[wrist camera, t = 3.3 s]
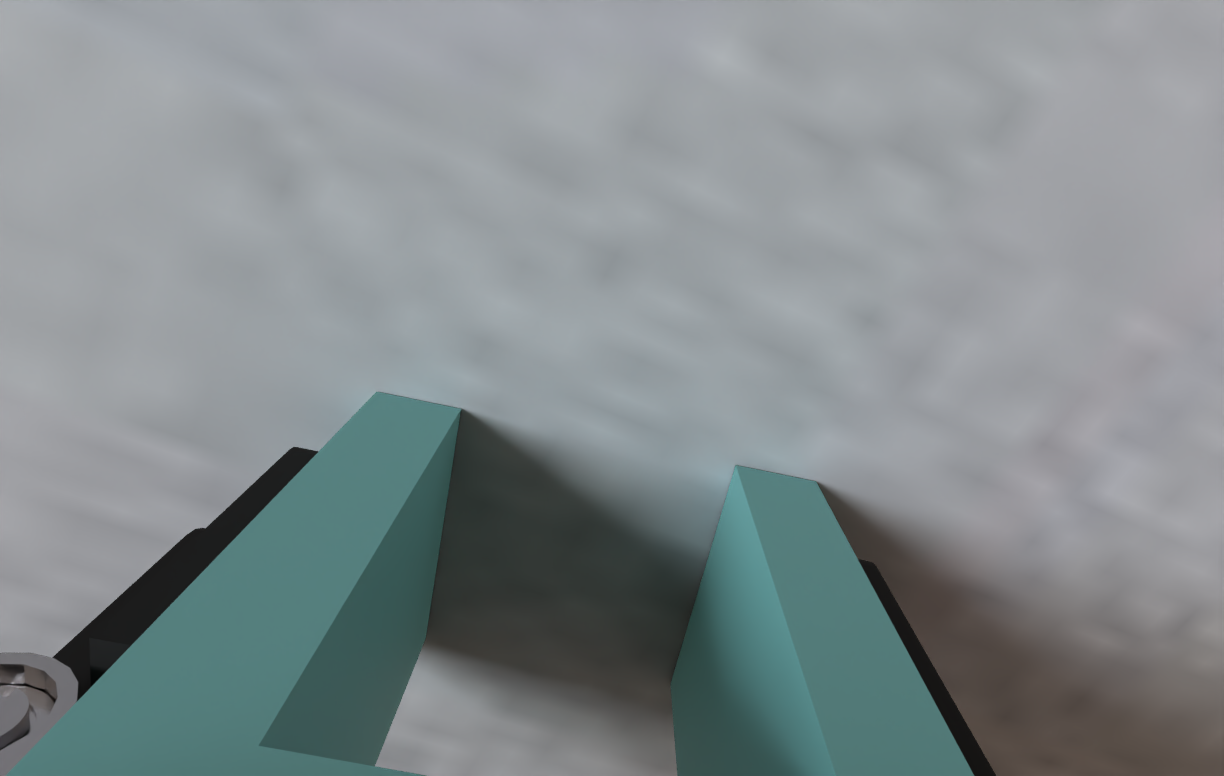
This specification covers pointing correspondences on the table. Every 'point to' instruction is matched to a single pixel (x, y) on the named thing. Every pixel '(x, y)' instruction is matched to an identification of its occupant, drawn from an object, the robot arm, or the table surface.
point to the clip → (398, 619)
